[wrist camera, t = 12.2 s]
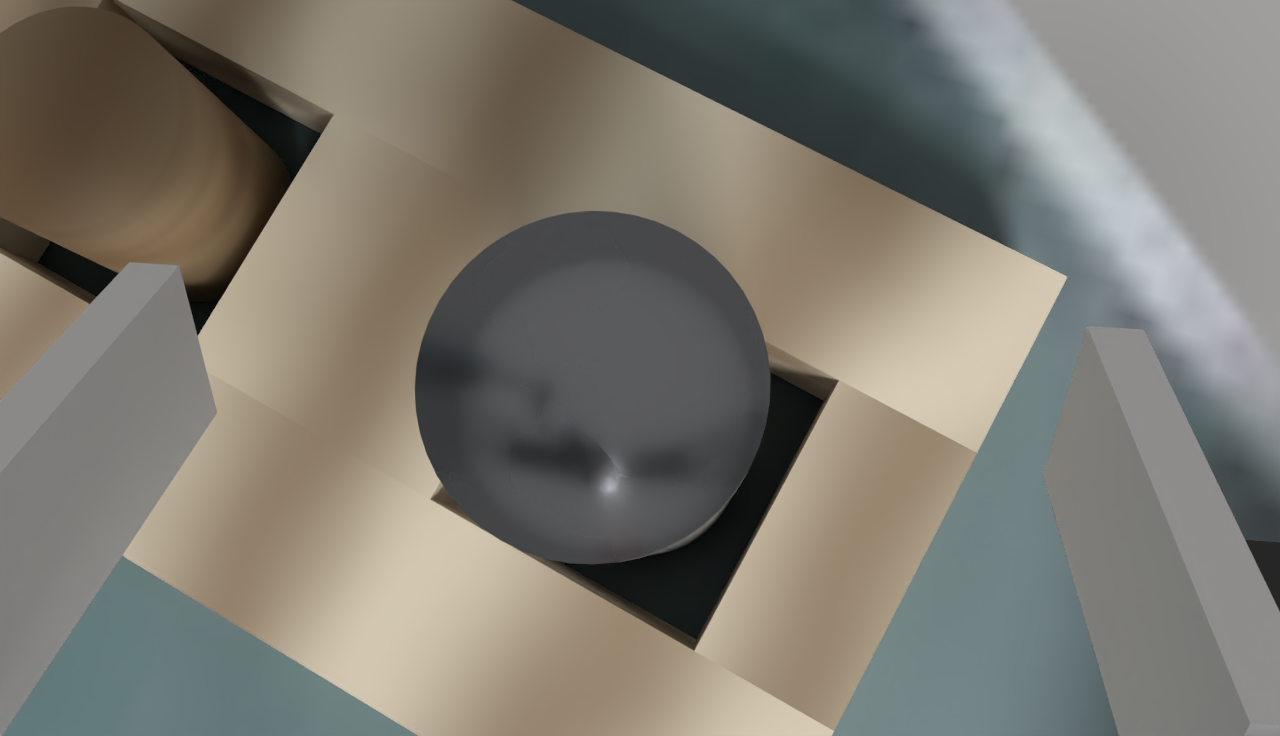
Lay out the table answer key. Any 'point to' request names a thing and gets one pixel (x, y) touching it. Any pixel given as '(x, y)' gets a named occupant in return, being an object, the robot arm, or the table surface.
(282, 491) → the block
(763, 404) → the metal cylinder
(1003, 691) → the table surface
